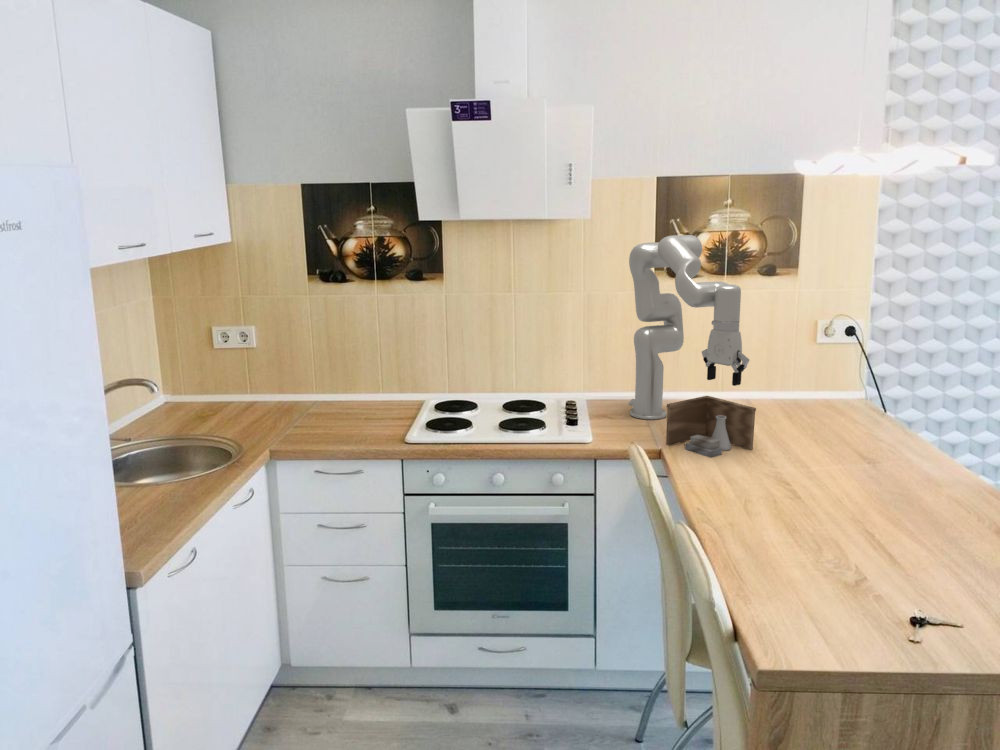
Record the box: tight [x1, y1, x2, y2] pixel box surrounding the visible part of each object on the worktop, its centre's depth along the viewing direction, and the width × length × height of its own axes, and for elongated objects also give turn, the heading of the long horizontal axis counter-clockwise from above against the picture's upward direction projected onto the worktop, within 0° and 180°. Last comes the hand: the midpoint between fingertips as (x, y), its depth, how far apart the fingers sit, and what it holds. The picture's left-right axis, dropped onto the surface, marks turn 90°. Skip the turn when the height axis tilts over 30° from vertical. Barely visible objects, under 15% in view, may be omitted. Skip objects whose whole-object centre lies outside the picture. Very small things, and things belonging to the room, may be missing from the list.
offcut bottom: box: [684, 442, 723, 459], centre depth 260 cm, size 10×5×2 cm, turn 36°
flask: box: [711, 415, 733, 451], centre depth 263 cm, size 7×7×10 cm
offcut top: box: [689, 434, 720, 450], centre depth 260 cm, size 8×4×2 cm, turn 42°
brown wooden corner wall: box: [665, 395, 757, 451], centre depth 264 cm, size 19×18×13 cm
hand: (723, 382), depth 259 cm, fingers open, 9 cm apart
